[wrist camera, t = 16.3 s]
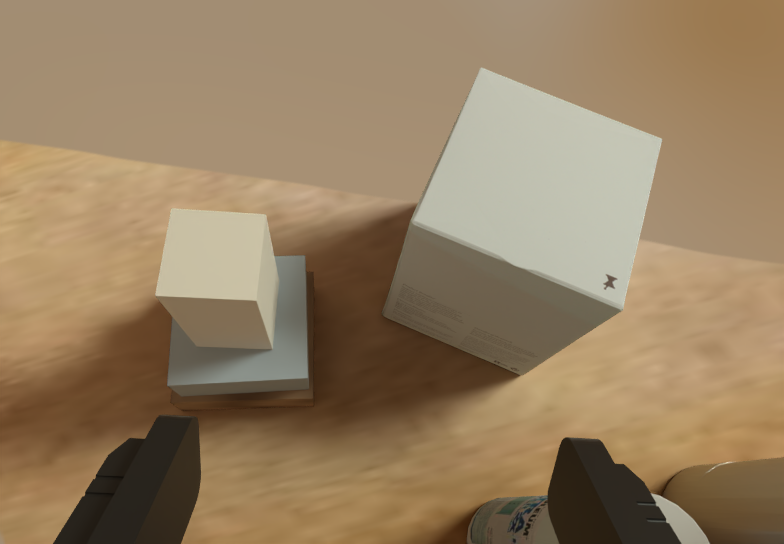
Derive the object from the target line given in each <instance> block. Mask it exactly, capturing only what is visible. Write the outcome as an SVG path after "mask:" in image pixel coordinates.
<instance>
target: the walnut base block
mask: <svg viewBox="0 0 784 544" xmlns="http://www.w3.org/2000/svg"><path fill="white" fill-rule="evenodd" d="M306 274H307V317H308V363H309V389H307V390H289V391H271V392H254V393H236V394H219V395H201V396H183V397H181V396H180V395H179V394H178V393H176V392H175V391H174V390H172V395H171V403H172V404H173V405H175V406H176V407H178V408H179V409H181V410H182V411H189V410H218V409H246V408H275V407H303V406H314V276H313V272H306Z"/></svg>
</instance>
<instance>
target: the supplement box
mask: <svg viewBox="0 0 784 544" xmlns="http://www.w3.org/2000/svg"><path fill="white" fill-rule="evenodd" d="M661 142H662V139H661V138H658V137H656V136H653V135H650V134H648V133H645V132H643V131H640V130H638V129H635V128H633V127H630V126H628V125H625V124H623V123H620V122H618V121H615V120H612V119H610V118H607V117H604V116H602V115H600V114H597V113H594V112H592V111H589V110H586V109H584V108H582V107H579V106H577V105H574V104H572V103H569V102H567V101H564V100H562V99H559V98H557V97H554V96H552V95H549V94H546V93H544V92H541V91H539V90H536V89H534V88H531V87H528V86H526V85H524V84H521V83H519V82H516V81H514V80H511V79H509V78H506V77H504V76H501V75H499V74H496V73H494V72H491V71H488V70H486V69H484V68H480V70H479V72H478V75H477V77H476V79H475V82H474V84H473V86H472V88H471V90H470V92H469V94H468V96H467V99H466V101H465V103H464V105H463V107H462V110H461V111H460V114H459V115H458V118H457V120H456V122H455V124H454V126H453V129H452V131H451V133H450V135H449V137H448V140H447V142H446V144H445V146H444V148H443V150H442V152H441V154H440V157H439V159H438V161H437V163H436V165H435V168H434V170H433V172H432V174H431V176H430V179H429V181H428V183H427V185H426V187H425V189H424V191H423V194H422V196H421V198H420V200H419V202H418V204H417V207H416V209H415V211H414V214H413V216H412V218H411V220H410V224H409V227H408V231H407V234H406V238H405V241H404V245H403V248H402V252H401V255H400V258H399V261H398V264H397V268H396V271H395V274H394V278H393V281H392V284H391V287H390V290H389V293H388V297H387V300H386V303H385V305H384V308H383V310H382V313H381V314H382V315H383V316H384V317H386V318H388V319H390V320H393V321H395V322H397V323H400V324H402V325H404V326H407V327H409V328H411V329H414V330H416V331H418V332H421V333H423V334H425V335H428V336H430V337H432V338H435V339H437V340H439V341H442V342H444V343H446V344H449V345H451V346H453V347H456V348H458V349H460V350H463V351H465V352H467V353H470V354H472V355H474V356H477V357H479V358H482V359H484V360H486V361H489V362H491V363H493V364H496V365H498V366H500V367H503V368H505V369H507V370H509V371H512V372H514V373H517V374H519V375H524V374H526V373H527V372H529V371H530V370H532V369H533V368H535V367H536V366H538V365H539V364H541V363H542V362H544V361H545V360H547V359H548V358H550V357H551V356H553V355H554V354H556V353H558V352H559V351H561V350H562V349H564V348H565V347H567V346H568V345H570V344H571V343H573V342H574V341H576V340H577V339H579V338H580V337H582V336H583V335H585V334H587V333H588V332H590V331H591V330H593V329H594V328H596V327H597V326H599V325H600V324H602V323H604V322H605V321H607V320H608V319H610V318H611V317H613V316H614V315H616V314H618V313H619V312H621V311H622V310H623V307H624V302H625V297H626V292H627V288H628V283H629V279H630V275H631V270H632V266H633V262H634V258H635V254H636V249H637V245H638V241H639V237H640V232H641V228H642V224H643V220H644V215H645V211H646V207H647V202H648V198H649V194H650V189H651V185H652V180H653V176H654V172H655V167H656V163H657V158H658V155H659V150H660V146H661Z"/></svg>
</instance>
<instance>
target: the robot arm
mask: <svg viewBox="0 0 784 544" xmlns="http://www.w3.org/2000/svg"><path fill="white" fill-rule="evenodd" d="M200 480H201V464H200V443H199V424H198V419H197V417H195V416H176V415H159V416H158V417H157V419H156V421H155V422H154V424H153V426H152V428H151V429H150V431H149V433H148V435H147V437H146V438H145V439H136V438H129V439H128V440H127V441H126V442H124V443H123V444H122V445H121V446H119V447H118V448H117V449H115V450H114V451H113V452H112V453H110V454H109V455H108V457H107V458H106V460H105V461H104V463H103V465H102V466H101V468H100V469H99V471H98V473H97V474H96V478H95V479H93V481H92V482H91V484H90V485H89V487H88V489H87V490H86V492H85V496H84V497H82V498H81V500H80V501H79V503H78V505H77V506H76V508H75V509H74V511H73V513H72V514H71V516H70V517H69V519H68V521H67V522H66V524H65V525H64V527H63V529H62V530H61V532H60V533H59V535H58V537H57V538H56V540H55V541H54V543H53V544H181V542H182V539H183V536H184V534H185V531H186V528H187V526H188V523H189V520H190V518H191V515H192V512H193V510H194V507H195V504H196V501H197V497H198V493H199V488H200ZM663 498H665V499H667V500H669V501H671V502H673V503H674V504H676V505H678V506H679V507H680V508H681V509H682V510H683V511H685V512H686V513H687V514H688V515H689V516H690V517H691V518H693V519H694V521H695V522H696V523H697V525H698V526H699V527H700V529H701V530H702V531H703V533H704V534H705V535H706V537H707V539H708V541H709V543H710V544H784V457H782V458H771V459H761V460H751V461H741V462H729V463H719V464H709V465H699V466H693V467H690V468H687V469H684V470H683V471H681V472H680V473H678V474H676V475H675V477H674V478H673V479H672V480H671V481H670V482H669V483H668V485H667V487H666V489H665V491H664V493H663ZM547 503H548V512H549V517H550V520H551V523H552V526H553V528H554V531H555V534H556V536H557V539H558V542H559V544H682V543H681V542H680V540H679V539H678V537H677V535H676V534H675V532H674V530H673V529H672V527H671V526H670V524H669V523H667V522H666V517H665V516H664V514H663V513H662V511H661V509H660V508H659V506H656V501H655V500H654V498H653V496H652V495H651V493H650V491H649V490H648V488H647V487H646V485H645V483H644V482H643V481H642V480H641V479H640V478H639V477H637V476H636V475H635V474H634V473H633V472H632V471H631V470H630V469H629V468H627V467H626V466H625V465H624V464H615V463H614V462H613V460H612V458H611V456H610V455H609V453H608V451H607V449H606V448H605V446H604V444H603V443H602V442H601V441H600V440H599V439H585V438H564V439H563V440H562V442H561V444H560V447H559V451H558V455H557V459H556V462H555V466H554V470H553V474H552V478H551V481H550V485H549V489H548V498H547Z"/></svg>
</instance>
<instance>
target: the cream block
mask: <svg viewBox="0 0 784 544" xmlns="http://www.w3.org/2000/svg"><path fill="white" fill-rule="evenodd" d="M278 289H279V277H278V272H277V267H276V262H275V257H274V252H273V247H272V242H271V237H270V232H269V227H268V222H267V217H266V214H252V213H236V212H220V211H205V210H189V209H173V208H171V213H170V219H169V224H168V229H167V235H166V240H165V246H164V251H163V256H162V262H161V267H160V272H159V278H158V283H157V289H156V294H155V296H156V297H157V299H158V300H159V301H160V302H161V304H162V305H163V306H164V307H165V308H166V310H167V311H168V312H169V313H170V315H171V316H172V317H173V318H174V319H175V321H176V322H177V323H178V324H179V326H180V327H181V328H182V329H183V330H184V332H185V333H186V334H187V335H188V337H189V338H190V339H191V340H192V341H193V343H194V344H195V345H196V346H197V347H219V348H245V349H270V350H273V341H274V331H275V320H276V310H277V299H278Z"/></svg>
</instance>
